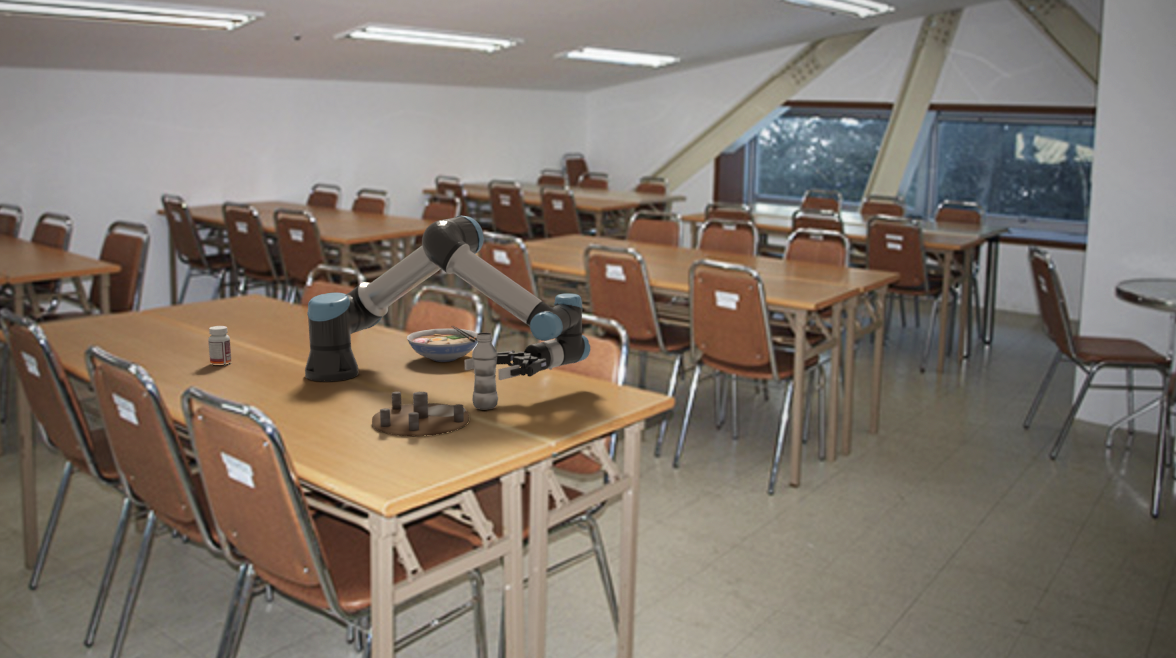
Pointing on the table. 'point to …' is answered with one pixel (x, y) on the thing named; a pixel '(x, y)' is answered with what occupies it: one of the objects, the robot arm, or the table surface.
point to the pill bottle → (219, 345)
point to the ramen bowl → (443, 343)
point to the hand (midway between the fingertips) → (482, 369)
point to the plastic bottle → (485, 373)
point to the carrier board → (423, 423)
